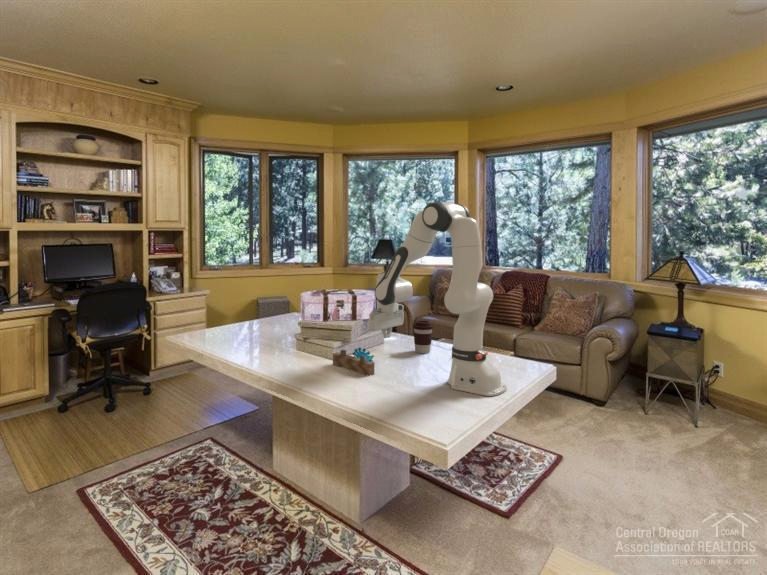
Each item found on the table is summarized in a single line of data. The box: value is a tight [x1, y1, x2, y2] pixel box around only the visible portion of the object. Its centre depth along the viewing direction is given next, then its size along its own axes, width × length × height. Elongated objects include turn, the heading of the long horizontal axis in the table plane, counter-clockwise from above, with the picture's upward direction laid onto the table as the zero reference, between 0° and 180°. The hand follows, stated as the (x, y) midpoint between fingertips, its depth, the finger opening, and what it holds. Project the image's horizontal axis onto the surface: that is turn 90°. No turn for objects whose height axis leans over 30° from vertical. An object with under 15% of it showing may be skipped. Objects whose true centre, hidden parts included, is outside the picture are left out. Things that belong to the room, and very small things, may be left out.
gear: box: [352, 347, 375, 362], centre depth 195 cm, size 11×6×10 cm
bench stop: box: [332, 349, 375, 377], centre depth 189 cm, size 22×3×7 cm, turn 48°
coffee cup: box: [412, 320, 434, 355], centre depth 218 cm, size 10×10×15 cm
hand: (386, 337), depth 203 cm, fingers closed
